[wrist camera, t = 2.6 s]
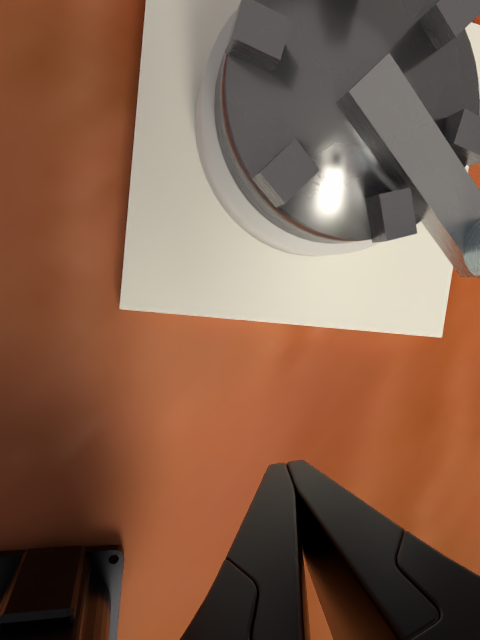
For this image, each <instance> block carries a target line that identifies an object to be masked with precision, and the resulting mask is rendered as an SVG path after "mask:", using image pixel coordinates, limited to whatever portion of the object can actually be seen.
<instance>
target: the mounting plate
mask: <svg viewBox="0 0 480 640" xmlns="http://www.w3.org/2000/svg"><path fill="white" fill-rule="evenodd" d="M240 1H241V0H146V5H145V17H144V28H143V40H142V52H141V63H140V75H139V87H138V98H137V110H136V122H135V133H134V145H133V157H132V168H131V180H130V192H129V203H128V215H127V227H126V238H125V250H124V262H123V273H122V285H121V297H120V308H119V309H124V310H136V311H147V312H158V313H170V314H181V315H192V316H203V317H215V318H226V319H237V320H249V321H260V322H271V323H283V324H294V325H305V326H316V327H328V328H339V329H350V330H362V331H373V332H384V333H395V334H407V335H418V336H429V337H441V338H442V333H443V327H444V320H445V314H446V308H447V301H448V295H449V289H450V282H451V276H452V270H453V265H452V264H451V262H450V261H449V260H448V258H447V257H446V256H445V254H444V253H443V251H442V250H441V249H440V247H439V246H438V244H437V243H436V242H435V240H434V239H433V237H432V236H431V235H430V233H429V232H428V230H427V229H426V228H425V226H424V225H423V224H422V222H421V221H420V222H419V223H418V224H416V228H417V234H414V235H410V236H406V237H402V238H398V239H394V240H390V241H385V242H376V243H372V239H371V240H364V241H357V242H349V243H340V244H326V243H318V242H312V241H309V240H305V239H301V238H298V237H296V236H294V235H292V234H289V233H287V232H285V231H283V230H282V229H280V228H278V227H277V226H275V225H273V224H272V223H271V222H270V221H268V220H267V219H266V218H265V217H263V216H262V215H261V214H260V213H259V212H258V211H257V210H256V209H255V208H254V207H253V206H252V205H251V204H250V203H249V202H248V200H247V199H246V198H245V196H244V195H243V194H242V192H241V191H240V190H239V188H238V187H237V185H236V183H235V181H234V180H233V178H232V176H231V174H230V173H229V170H228V168H227V165H226V163H225V161H224V158H223V156H222V152H221V149H220V145H219V142H218V138H217V131H216V125H215V113H214V98H215V86H216V80H217V76H218V71H219V67H220V64H221V61H222V58H223V55H224V52H225V50H226V47H227V43H228V39H229V36H230V32H231V29H232V25H233V22H234V18H235V14H236V12H237V9H238V6H239V4H240ZM465 30H466V33H467V35H468V38H469V40H470V43H471V47H472V50H473V54H474V58H475V62H476V68H477V74H478V81H479V99H480V25H478V24H475V23H472V22H471V23H470V24H469V25H468V26H467V27H466V28H465ZM465 169H466V171H467V172H468V169H469V166H468V165H466V167H465Z"/></svg>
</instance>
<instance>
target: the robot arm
mask: <svg viewBox="0 0 480 640" xmlns="http://www.w3.org/2000/svg"><path fill="white" fill-rule="evenodd" d="M111 555H117V556H118V557H117V558H115V559H112V558H110V556H111ZM303 555H304V558H305V561H306V564H307V567H308V570H309V573H310V576H311V579H312V581H313V584H314V587H315V590H316V592H317V595H318V598H319V601H320V603H321V606H322V609H323V612H324V614H325V617H326V620H327V623H328V626H329V628H330V631H331V634H332V637H333V639H334V640H480V576H479V575H477V574H475V573H473V572H472V571H470V570H468V569H467V568H465V567H463V566H461V565H460V564H458V563H456V562H455V561H453V560H451V559H450V558H448V557H446V556H445V555H443V554H441V553H440V552H438V551H437V550H435V549H434V548H432V547H431V546H429V545H428V544H426V543H425V542H423V541H421V540H420V539H419V538H417V537H416V536H414V535H413V534H411V533H410V532H408V531H405V530H404V529H403V528H402V527H400V526H399V525H397V524H396V523H394V522H393V521H391V520H390V519H388V518H387V517H386V516H384V515H383V514H381V513H380V512H378V511H377V510H375V509H374V508H372V507H371V506H370V505H368V504H367V503H365V502H364V501H362V500H361V499H359V498H358V497H356V496H355V495H354V494H352V493H351V492H349V491H348V490H346V489H345V488H343V487H342V486H340V485H339V484H338V483H336V482H335V481H333V480H332V479H330V478H329V477H327V476H326V475H325V474H323V473H322V472H320V471H319V470H317V469H316V468H314V467H313V466H311V465H310V464H309V463H307V462H306V461H304V460H297V461H291V462H288V463H287V465H286V464H285V463H278V464H272V465H269V466H268V468H267V470H266V473H265V475H264V477H263V479H262V481H261V483H260V485H259V488H258V490H257V492H256V494H255V496H254V498H253V501H252V503H251V505H250V507H249V509H248V511H247V513H246V516H245V518H244V520H243V522H242V524H241V526H240V529H239V531H238V533H237V535H236V537H235V539H234V541H233V544H232V546H231V548H230V550H229V552H228V554H227V557H226V560H224V562H223V564H222V566H221V568H220V570H219V573H218V575H217V577H216V579H215V581H214V583H213V585H212V587H211V588H210V590H209V592H208V594H207V596H206V598H205V600H204V601H203V603H202V605H201V606H200V608H199V610H198V611H197V613H196V615H195V616H194V618H193V620H192V621H191V623H190V624H189V626H188V627H187V629H186V631H185V632H184V634H183V635H182V637H181V638H180V640H311V638H310V626H309V615H308V604H307V592H306V581H305V570H304V560H303ZM123 563H124V550H123V548H122V547H121V546H119V545H106V546H89V547H82V546H70V547H52V548H35V549H28V550H20V551H2V552H0V640H117V629H118V618H119V607H120V596H121V585H122V574H123Z"/></svg>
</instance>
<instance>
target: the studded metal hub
mask: <svg viewBox="0 0 480 640" xmlns="http://www.w3.org/2000/svg"><path fill="white" fill-rule="evenodd" d="M479 14H480V0H241V1H240V4H239V6H238V9H237V12H236V14H235V18H234V22H233V25H232V29H231V32H230V36H229V39H228V43H227V47H226V50H225V52H224V55H223V58H222V61H221V64H220V67H219V71H218V76H217V80H216V86H215V98H214V113H215V125H216V131H217V138H218V142H219V145H220V149H221V152H222V156H223V158H224V161H225V163H226V165H227V168H228V170H229V173H230V174H231V176H232V178H233V180H234V181H235V183H236V185H237V187H238V188H239V190H240V191H241V192H242V194H243V195H244V196H245V198H246V199H247V200H248V202H249V203H250V204H251V205H252V206H253V207H254V208H255V209H256V210H257V211H258V212H259V213H260V214H261V215H262V216H263V217H265V218H266V219H267V220H268V221H270V222H271V223H272V224H273V225H275V226H277V227H278V228H280V229H282V230H283V231H285V232H287V233H289V234H292V235H294V236H296V237H298V238H301V239H305V240H309V241H312V242H318V243H326V244H340V243H349V242H357V241H364V240H371V239H372V243H376V242H385V241H390V240H394V239H398V238H402V237H406V236H410V235H414V234H417V228H416V224H418V223H419V222H420V221H421V222H422V224H423V225H424V226H425V228H426V229H427V230H428V232H429V233H430V235H431V236H432V237H433V239H434V240H435V242H436V243H437V244H438V246H439V247H440V249H441V250H442V251H443V253H444V254H445V256H446V257H447V258H448V260H449V261H450V262H451V264H452V265H453V267H454V268H455V269H456V271H457V272H458V274H459V275H460V276H461V277H478V278H480V191H479V189H478V188H477V186H476V184H475V183H474V181H473V180H472V178H471V177H470V175H469V174H468V172H467V171H466V169H465V167H466V165H468V166H471V165H474V164H477V163H480V116H479V81H478V74H477V68H476V62H475V58H474V54H473V50H472V47H471V43H470V40H469V38H468V35H467V33H466V30H465V28H466V27H467V26H468V25H469V24H470V23H471V22H472V21H473V20H474V19H475V18H476V17H477V16H478V15H479Z"/></svg>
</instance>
